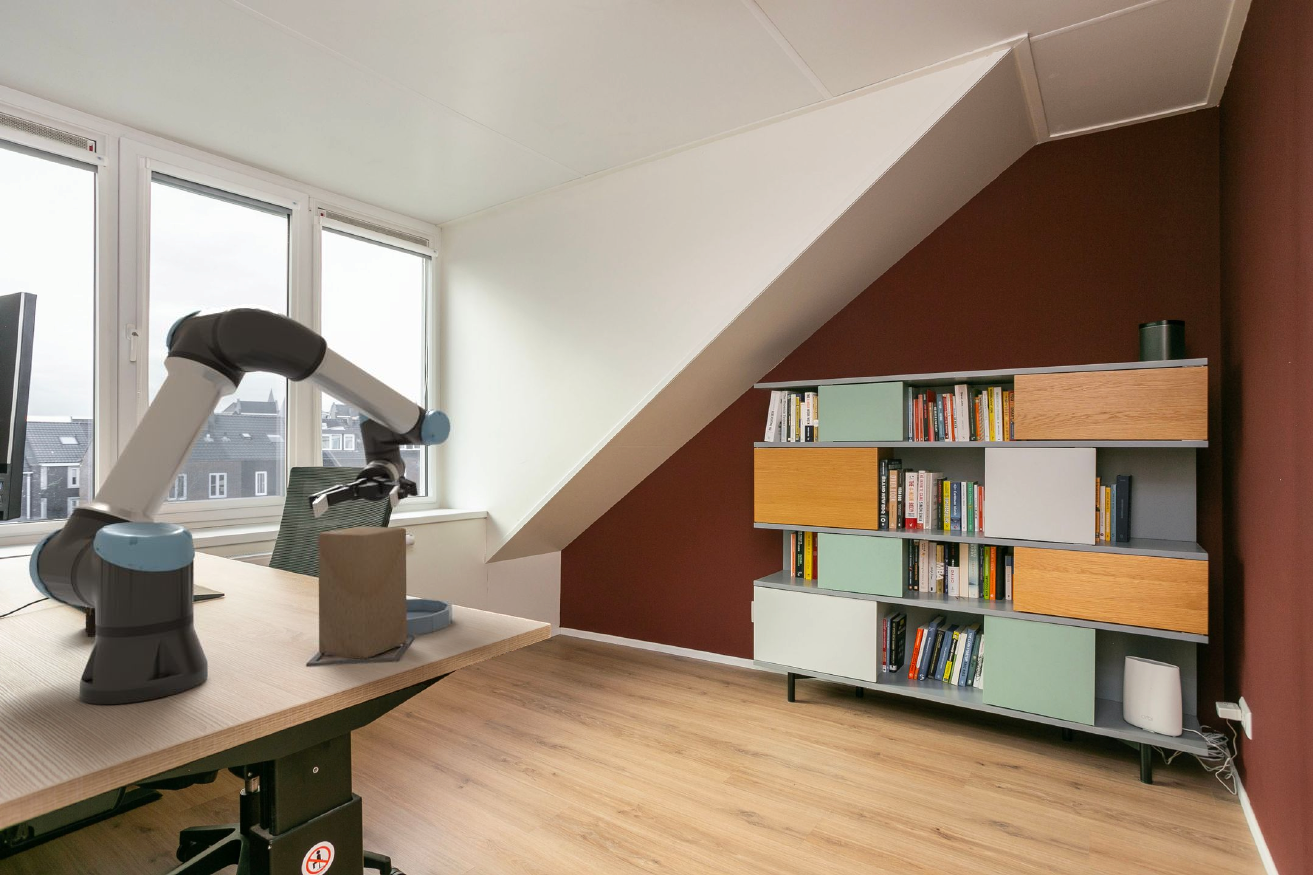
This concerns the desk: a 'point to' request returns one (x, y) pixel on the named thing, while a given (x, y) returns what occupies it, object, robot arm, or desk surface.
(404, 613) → the wooden block
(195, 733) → the desk surface
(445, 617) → the dish
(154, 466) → the robot arm
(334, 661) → the dark grey square frame
